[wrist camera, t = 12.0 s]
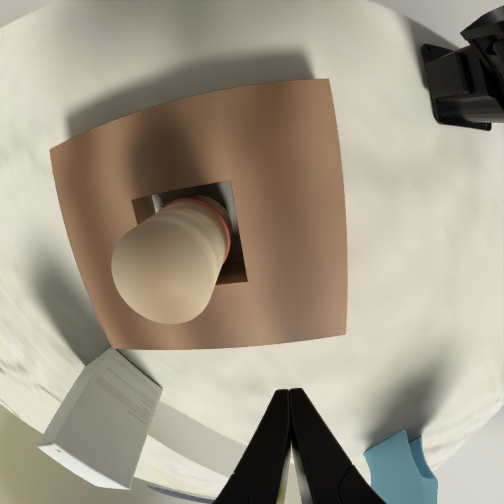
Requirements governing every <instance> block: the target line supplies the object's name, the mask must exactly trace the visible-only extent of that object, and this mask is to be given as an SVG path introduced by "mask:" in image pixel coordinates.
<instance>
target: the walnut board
mask: <svg viewBox="0 0 504 504" xmlns="http://www.w3.org/2000/svg"><path fill="white" fill-rule="evenodd" d="M50 156H51V163H52V169H53V175H54V180H55V185H56V190H57V195H58V200H59V204H60V208H61V212H62V216H63V220H64V224H65V228H66V231H67V235H68V238H69V242H70V245H71V248H72V251H73V254H74V258H75V261H76V263H77V266H78V269H79V272H80V275H81V278H82V280H83V283H84V286H85V288H86V291H87V293H88V296H89V298H90V301H91V303H92V305H93V308H94V310H95V312H96V315H97V317H98V319H99V321H100V324H101V326H102V328H103V330H104V332H105V334H106V336H107V338H108V340H109V342H110V344H111V346H112V348H113V349H137V350H192V349H218V348H235V347H249V346H260V345H271V344H280V343H289V342H298V341H305V340H313V339H320V338H326V337H333V336H339V335H345V334H346V319H347V232H346V212H345V197H344V184H343V173H342V163H341V154H340V146H339V138H338V130H337V124H336V117H335V111H334V104H333V99H332V93H331V88H330V82H329V79H306V80H291V81H280V82H270V83H262V84H254V85H247V86H241V87H235V88H229V89H224V90H218V91H213V92H209V93H204V94H200V95H195V96H191V97H187V98H183V99H179V100H175V101H172V102H168V103H165V104H161V105H158V106H154V107H151V108H148V109H145V110H142V111H139V112H136V113H133V114H130V115H127V116H124V117H122V118H119V119H116V120H114V121H111V122H108V123H106V124H103V125H101V126H99V127H96V128H94V129H91V130H89V131H87V132H85V133H82V134H80V135H78V136H76V137H74V138H72V139H69V140H67V141H65V142H63V143H61V144H59V145H57V146H55V147H53V148H52V149H50ZM228 180H231V185H232V191H233V197H234V203H235V209H236V215H237V221H238V227H239V233H240V239H241V245H242V250H243V256H244V262H245V263H237V264H229V265H222V267H221V270H220V272H219V275H218V278H217V281H216V284H215V286H214V289H213V292H212V295H211V298H210V300H209V302H208V304H207V306H206V308H205V309H204V310H203V311H202V312H201V313H200V314H199V315H198V316H197V317H195V318H194V319H192V320H190V321H187V322H184V323H180V324H163V323H158V322H154V321H152V320H149V319H147V318H145V317H143V316H141V315H140V314H138V313H137V312H136V311H134V310H133V309H132V308H131V307H130V306H129V305H128V304H127V303H126V302H125V301H124V299H123V298H122V297H121V295H120V294H119V292H118V290H117V288H116V285H115V283H114V280H113V276H112V270H111V262H112V255H113V251H114V249H115V246H116V245H117V243H118V241H119V240H120V239H121V238H122V236H123V235H125V234H126V233H127V232H128V231H130V230H131V229H133V228H134V227H136V226H137V225H139V224H140V223H142V222H143V221H145V220H147V219H148V218H150V217H151V216H153V215H154V214H155V209H154V205H153V200H152V195H154V194H159V193H163V192H168V191H173V190H178V189H183V188H188V187H193V186H199V185H204V184H210V183H216V182H222V181H228Z"/></svg>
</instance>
